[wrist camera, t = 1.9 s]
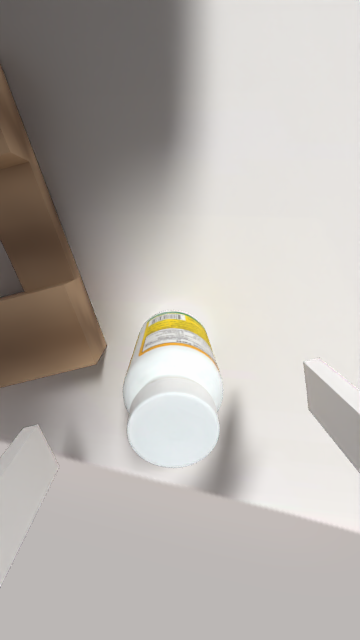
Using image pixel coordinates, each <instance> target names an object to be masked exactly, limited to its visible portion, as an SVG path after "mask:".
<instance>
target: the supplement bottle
mask: <svg viewBox="0 0 360 640" xmlns="http://www.w3.org/2000/svg"><path fill="white" fill-rule="evenodd" d="M123 398H124V403H125V406H126V409H127V411H128V413H129V418H128V423H127V436H128V440H129V443H130V445H131V447H132V448H133V450H134V451H135V452H136V453H137V454H138V455H139V456H140V457H141V458H143V459H144V460H146V461H147V462H149V463H152V464H154V465H157V466H161V467H168V468H179V467H185V466H189V465H192V464H194V463H197V462H199V461H200V460H202V459H204V458H205V457H206V456H207V455H208V454H209V453H210V452H211V451H212V450H213V448H214V447H215V445H216V443H217V441H218V437H219V432H220V426H219V419H218V415H217V412H218V410H219V408H220V406H221V403H222V399H223V383H222V378H221V375H220V372H219V369H218V366H217V363H216V360H215V357H214V354H213V351H212V348H211V345H210V342H209V339H208V336H207V333H206V331H205V329H204V327H203V325H202V324H201V323H200V321H199V320H198V319H196V318H195V317H194V316H192V315H191V314H189V313H186V312H183V311H179V310H167V311H162V312H159V313H157V314H155V315H154V316H152V317H151V318H149V319H148V320H147V321H146V322H145V324H144V325H143V327H142V328H141V331H140V333H139V336H138V339H137V342H136V345H135V349H134V352H133V355H132V358H131V361H130V364H129V367H128V370H127V373H126V376H125V380H124V384H123Z"/></svg>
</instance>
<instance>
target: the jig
mask: <svg viewBox="0 0 360 640" xmlns="http://www.w3.org/2000/svg"><path fill="white" fill-rule="evenodd" d="M0 240H1V242H2V244H3V246H4V248H5V251H6V253H7V255H8V257H9V259H10V261H11V264H12V266H13V268H14V270H15V272H16V274H17V277H18V279H19V281H20V283H21V285H22V288H23V290H24V292H20V293H16V294H13V295H9V296H5V297H1V298H0V388H2V387H6V386H10V385H14V384H18V383H22V382H26V381H30V380H35V379H39V378H43V377H47V376H51V375H55V374H59V373H63V372H67V371H71V370H76V369H80V368H84V367H88V366H92V365H96V364H97V362H98V360H99V359H100V357H101V355H102V353H103V352H104V350H105V348H106V346H107V345H106V342H105V339H104V337H103V334H102V331H101V329H100V326H99V324H98V321H97V318H96V316H95V313H94V310H93V308H92V305H91V302H90V300H89V297H88V294H87V292H86V289H85V287H84V284H83V281H82V279H81V276H80V273H79V271H78V268H77V265H76V263H75V260H74V257H73V255H72V252H71V250H70V247H69V244H68V242H67V239H66V236H65V234H64V231H63V228H62V226H61V223H60V220H59V218H58V215H57V212H56V210H55V207H54V205H53V202H52V199H51V197H50V194H49V191H48V189H47V186H46V183H45V181H44V178H43V175H42V173H41V170H40V168H39V165H38V162H37V160H36V157H35V154H34V152H33V149H32V146H31V144H30V141H29V138H28V136H27V133H26V131H25V128H24V125H23V123H22V120H21V117H20V115H19V112H18V109H17V107H16V104H15V101H14V99H13V96H12V94H11V91H10V88H9V86H8V83H7V80H6V78H5V75H4V72H3V70H2V67H1V64H0Z"/></svg>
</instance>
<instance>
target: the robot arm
mask: <svg viewBox="0 0 360 640" xmlns="http://www.w3.org/2000/svg"><path fill="white" fill-rule="evenodd" d="M303 364H304V373H305V382H306V390H307V399H308V408H309V411H310V412H311V413H312V414H313V416H314V417H315V418H316V419H317V421H318V422H319V423H320V424H321V426H322V427H323V428H324V429H325V431H326V432H327V433H328V434H329V436H330V437H331V438H332V439H333V441H334V442H335V443H336V444H337V446H338V447H339V448H340V449H341V451H342V452H343V453H344V454H345V456H346V457H347V458H348V459H349V461H350V462H351V463H352V464H353V466H354V467H355V468H356V469H357V470H358V472H359V473H360V390H359V389H358V388H357V387H355V386H354V385H353V384H352V383H350V382H349V381H348V380H347V379H345V378H344V377H343V376H342V375H340V374H339V373H338V372H337V371H335V370H334V369H333V368H332V367H330V366H329V365H328V364H327V363H325V362H324V361H323V360H322V359H320V358H316V359H312V360H308V361H304V362H303ZM58 469H59V464H58V462H57V461H56V458H55V456H54V454H53V452H52V450H51V449H50V447H49V445H48V443H47V441H46V439H45V437H44V435H43V433H42V431H41V429H40V427H39V425H33V426H29V427H25V428H23V429H22V430H21V432H20V433H19V434H18V435H17V437H16V438H15V439H14V441H13V442H12V443H11V444H10V446H9V447H8V448H7V450H6V451H5V452H4V453H3V455H2V456H1V457H0V587H1V585H2V583H3V581H4V579H5V577H6V575H7V573H8V571H9V569H10V567H11V565H12V563H13V561H14V559H15V557H16V555H17V553H18V551H19V549H20V547H21V545H22V543H23V540H24V539H25V536H26V534H27V532H28V530H29V528H30V526H31V524H32V522H33V520H34V518H35V516H36V513H37V512H38V510H39V508H40V506H41V504H42V502H43V500H44V497H45V496H46V494H47V491H48V489H49V487H50V485H51V483H52V481H53V479H54V477H55V475H56V473H57V471H58Z"/></svg>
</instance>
